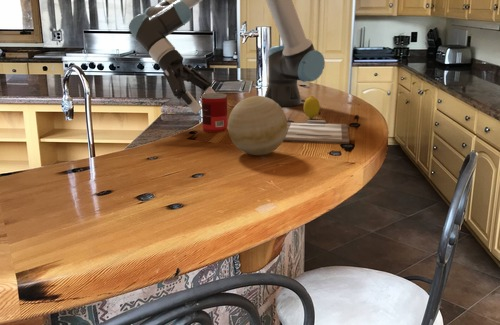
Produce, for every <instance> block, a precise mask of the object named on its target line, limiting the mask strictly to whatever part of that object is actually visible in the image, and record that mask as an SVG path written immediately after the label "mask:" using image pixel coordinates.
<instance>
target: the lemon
mask: <svg viewBox="0 0 500 325" xmlns="http://www.w3.org/2000/svg"><path fill="white" fill-rule="evenodd" d="M320 107H321V106H320V101H319V100H318V98H316V97H314V96H313V95H310V96H309V97H307V98H306V99H305V100H304V103H303V113H304V115H305V116H306V117H308V118H309V120H313V119H314V118H315V117H316V116H318V115H319V112H320V111H321V110H320Z"/></svg>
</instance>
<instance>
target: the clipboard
mask: <svg viewBox="0 0 500 325" xmlns="http://www.w3.org/2000/svg"><path fill="white" fill-rule="evenodd" d="M348 128H349V127H348V123H336V122H335V123H330V122H328V123H327V122H326V120H324V119H323V120H316V119H307V120H306V122H303V121H302V122H300V121H299V122H297V121H287V133H286V136H285V138H284V140H283V142H285V143H310V144H313V143H314V144H335V143H339V144H341V145H350V137H349V129H348ZM283 142H282V143H283Z"/></svg>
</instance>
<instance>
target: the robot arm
mask: <svg viewBox="0 0 500 325" xmlns="http://www.w3.org/2000/svg"><path fill="white" fill-rule="evenodd" d="M201 2H203V0H161V1H160V2H158V3H157V4H155V5H151V6H149V7H148V8H146V9H145V10H144V12H143V13H141V14H140V13H139V14H137V15H136V16H134V17H133V18H132V19H131V21H129V25H128V30H129V32H130V33H131V35H132V36H133V37H134V39H135V40H136V41H137V42H138V44H140V45H141V47H142V48H143V49H144V50H145V51H146V52H147V53H148V55H149V56H150V58H152V60H153V61H154V62H155V63H156V64H158V66H159V68H160V69H161V70H162V71H163V72H162V74H163V76H164V77H165V79H166V81H167V82H168V85H169V88H170V90H171V92H172V95H173V96H174V97H176V99H177V100H181V99H182V101H184V102H185V104H186V105H187V106H188V108H190V109H191V111H192V112H193V113H194V115H197V114H198V113H200V112H201V111H202V105H201V104H200V103H199V102H198V101H197V99H195V98H194V96H193V95H192V94H191V93H190V92H189V91H187V89H186V84H185V82H187V83H189V82H190V83H191V84H193V85H194V86H196V87H197V88H199V89H201V90H202V91H203V92H204V93H203V94H208V93H216V91H215V90H214V89H213V88H212V86H213V82H211V81H210V80H209V79H208V78H206V77H205V76H204V75H203V74H202V73H200V72H199V71H197V70H196V69H195V68H194V67H193V65H191V64H189V63H188V64H187V66H186V65H185V64H184V63H183V62H184V57H183V55H181V53H180V52H179V51H178V50H177V49H176V47H175V46H174V45H173V43H172V42H171V41H170V40H169V39H168V38H167V36H169V35H170V34H172V33H174V32H175V31H177V30H179V29H181V28H182V27H183V26H185V25H186V24H188V23H189V22H190V21H191V20H192V11H191V9H192V8H194V7H195V6H196V5H198V4H199V3H201ZM265 2H266V4H267V6H268V9H269V12H270V13H271V14H270V15H271V17H272V19H273V21H274V25H275V26H276V29H277V32H278V34H279V37H280V39H281V42H282V45H275V46H272V47H270V48H269V49H268V84H267V88H266V91H265V95H264V97H267V98H270V99H272V100H273V101H275V102H276V103H277V104H279V106H280V107H293V106H300V105H301V104H302V97H301V92H300V91H299V87H298V86H299V85H298V81H300V82H303V83H304V82H305V83H306V82H307V83H308V82H309V83H310V82H312V83H313V82H314V81H316V80H318V79H319V78H320V77H321V76H322V74H323V72H324V69H325V67H326V66H325V64H326V63H325V62H326V61H325V57H324V55H323V53H322V52H320V51H318V50H316V49H315V46H314V44H313V42H312V40H310V39H308V38H307V37H306V35H305V32H304V29H303V26H302V24H301V21H300V18H299V16H298V13H297V9H296V7H295V5H294V2H293V0H265Z"/></svg>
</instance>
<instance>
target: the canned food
mask: <svg viewBox="0 0 500 325" xmlns="http://www.w3.org/2000/svg"><path fill="white" fill-rule="evenodd" d="M227 96H228V95H227V94H226V93H222V92H221V93H220V92H215V93H208V94H205V93H203V94H201V107H202V109H201V117H202V118H201V120H202V122H201V123H202V130H203V131H204V132H206V133H207V132H208V133H222V131H223V132H225V130H226V131H227V130H228V97H227Z"/></svg>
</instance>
